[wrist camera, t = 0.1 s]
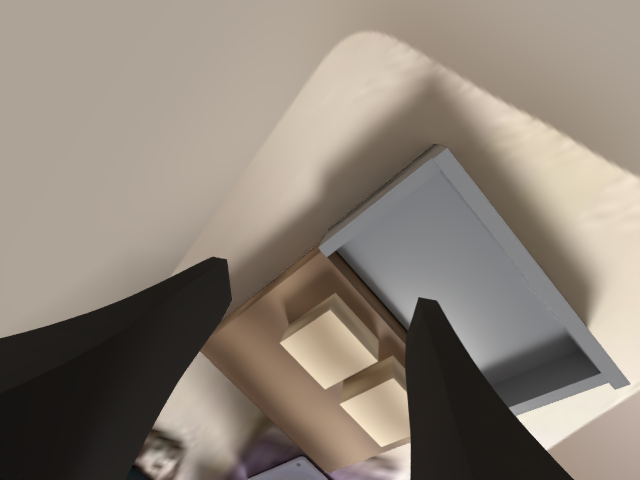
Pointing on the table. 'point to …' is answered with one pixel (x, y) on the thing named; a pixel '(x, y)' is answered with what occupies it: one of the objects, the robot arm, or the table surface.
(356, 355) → the tile
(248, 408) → the table surface
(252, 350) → the walnut board
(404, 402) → the tile
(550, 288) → the slate bin
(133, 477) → the grey and teal figurine
